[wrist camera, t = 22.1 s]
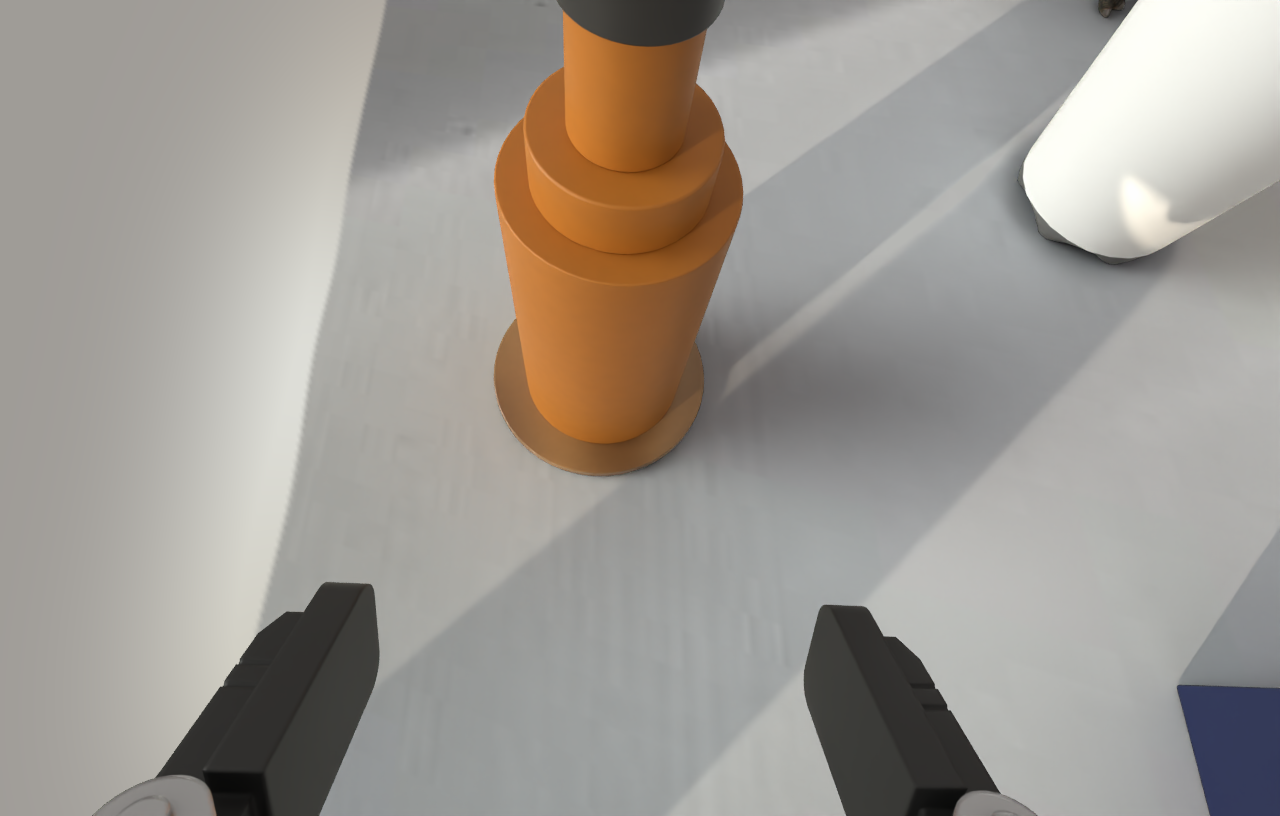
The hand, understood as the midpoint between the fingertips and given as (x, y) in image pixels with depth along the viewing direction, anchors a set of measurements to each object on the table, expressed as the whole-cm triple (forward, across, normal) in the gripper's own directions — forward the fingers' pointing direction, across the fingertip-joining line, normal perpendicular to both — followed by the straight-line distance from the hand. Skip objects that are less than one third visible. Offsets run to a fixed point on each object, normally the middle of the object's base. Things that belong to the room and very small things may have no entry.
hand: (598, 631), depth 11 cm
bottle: (+15, 0, 0) cm, 15 cm away
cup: (+23, -24, -7) cm, 34 cm away
